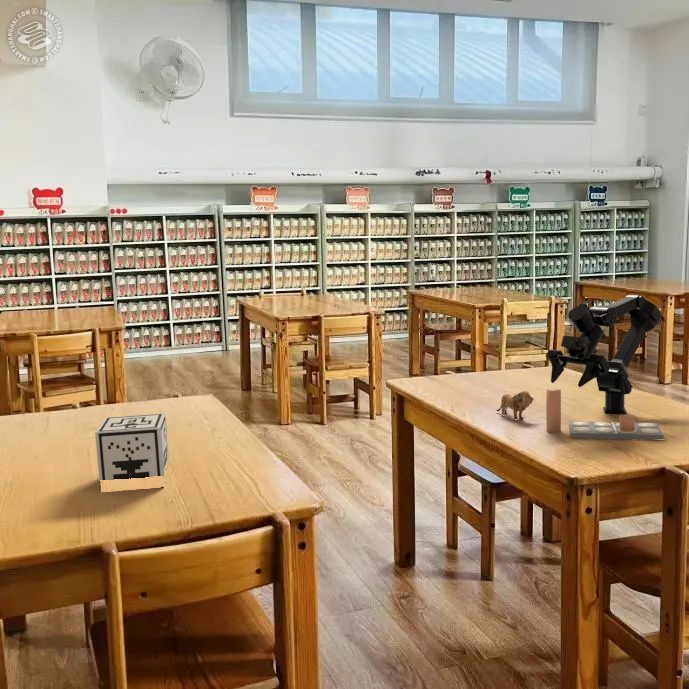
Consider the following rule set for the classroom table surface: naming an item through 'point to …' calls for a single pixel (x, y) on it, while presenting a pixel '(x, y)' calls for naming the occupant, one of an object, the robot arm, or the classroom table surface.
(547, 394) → the terracotta pin
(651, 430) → the pattern board
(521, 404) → the lion figurine
